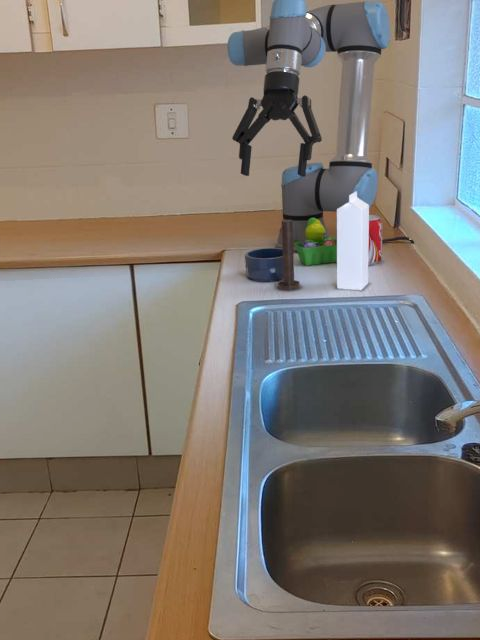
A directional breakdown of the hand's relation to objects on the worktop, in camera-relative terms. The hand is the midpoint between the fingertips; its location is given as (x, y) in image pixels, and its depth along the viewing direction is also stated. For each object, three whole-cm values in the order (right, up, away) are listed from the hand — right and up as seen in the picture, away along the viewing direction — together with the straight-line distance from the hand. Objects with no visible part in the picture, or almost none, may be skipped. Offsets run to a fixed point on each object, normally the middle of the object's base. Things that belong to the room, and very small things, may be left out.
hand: (272, 175), depth 164 cm
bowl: (+1, -18, +28) cm, 34 cm away
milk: (+20, -23, +16) cm, 34 cm away
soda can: (+28, -14, +35) cm, 47 cm away
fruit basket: (+15, -13, +39) cm, 44 cm away
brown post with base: (+5, -23, +18) cm, 29 cm away
